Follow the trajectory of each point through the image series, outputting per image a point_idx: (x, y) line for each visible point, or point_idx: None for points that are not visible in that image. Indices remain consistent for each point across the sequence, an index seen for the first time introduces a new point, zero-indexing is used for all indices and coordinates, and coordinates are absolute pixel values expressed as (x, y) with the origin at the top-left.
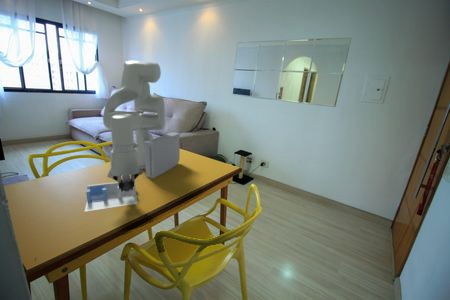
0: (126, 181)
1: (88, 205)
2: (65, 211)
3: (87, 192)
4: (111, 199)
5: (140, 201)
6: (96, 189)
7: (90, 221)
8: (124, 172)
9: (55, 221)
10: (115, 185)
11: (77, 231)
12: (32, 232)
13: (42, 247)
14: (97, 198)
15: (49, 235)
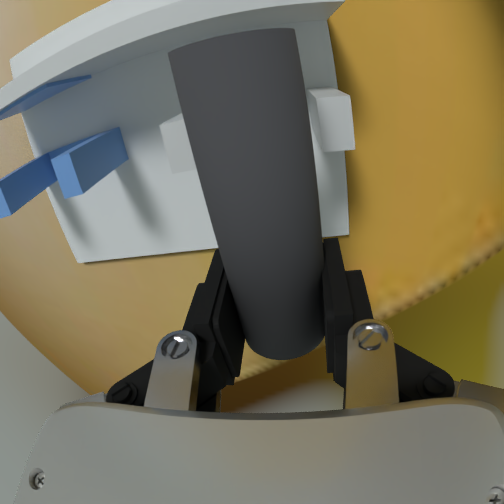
0: (275, 311)
1: (62, 209)
2: (13, 233)
3: (6, 214)
4: (155, 149)
5: (368, 193)
6: (22, 106)
7: (139, 321)
8: None
9: (30, 289)
10: (130, 47)
11: (129, 356)
12: (23, 322)
13: (90, 379)
14: (68, 130)
15: (68, 347)
